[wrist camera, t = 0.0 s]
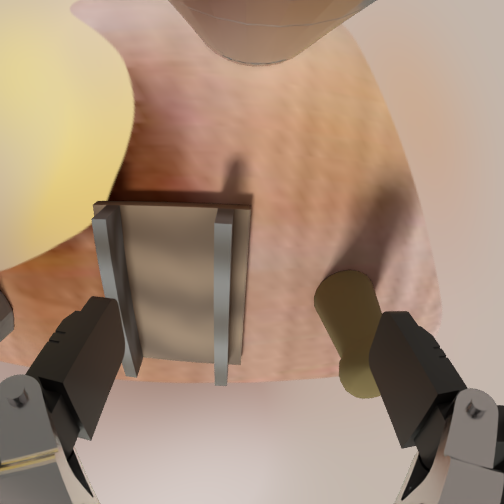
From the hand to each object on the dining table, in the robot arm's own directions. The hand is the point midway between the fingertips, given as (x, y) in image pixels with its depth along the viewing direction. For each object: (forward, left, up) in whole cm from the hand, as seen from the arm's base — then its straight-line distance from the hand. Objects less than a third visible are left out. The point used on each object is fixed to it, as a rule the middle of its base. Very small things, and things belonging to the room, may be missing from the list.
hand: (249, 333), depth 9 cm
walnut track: (+11, -6, -17) cm, 21 cm away
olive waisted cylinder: (+11, +10, -17) cm, 23 cm away
